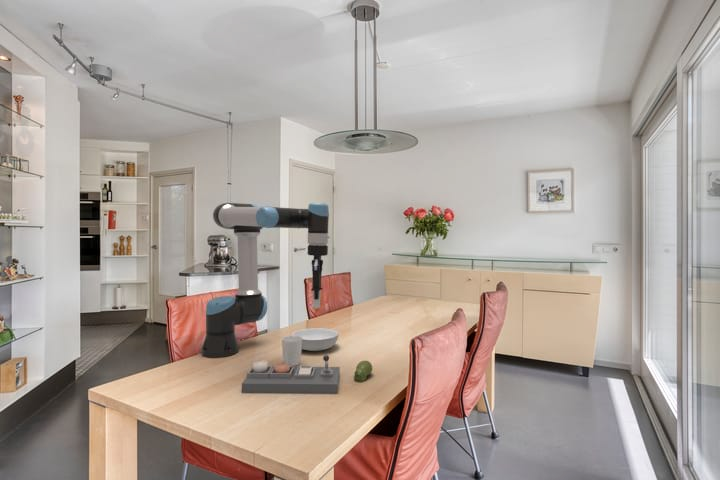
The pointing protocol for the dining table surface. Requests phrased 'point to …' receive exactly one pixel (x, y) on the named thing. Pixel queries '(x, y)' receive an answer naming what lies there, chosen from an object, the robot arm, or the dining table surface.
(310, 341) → the serving bowl
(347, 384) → the dining table surface
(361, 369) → the green rounded piece
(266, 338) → the dining table surface
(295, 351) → the white cup
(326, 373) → the switch panel
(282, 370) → the terracotta button
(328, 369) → the toggle lever
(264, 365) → the cream button
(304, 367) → the rocker switch
